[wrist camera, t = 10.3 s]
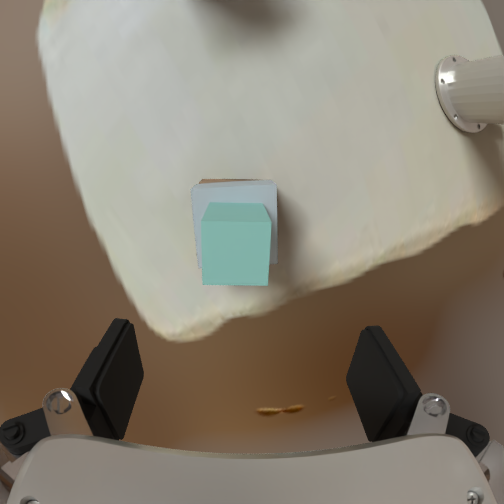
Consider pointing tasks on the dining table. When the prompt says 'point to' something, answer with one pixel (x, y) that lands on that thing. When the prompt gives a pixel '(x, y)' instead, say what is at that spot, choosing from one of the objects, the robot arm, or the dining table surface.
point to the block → (235, 244)
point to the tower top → (235, 194)
